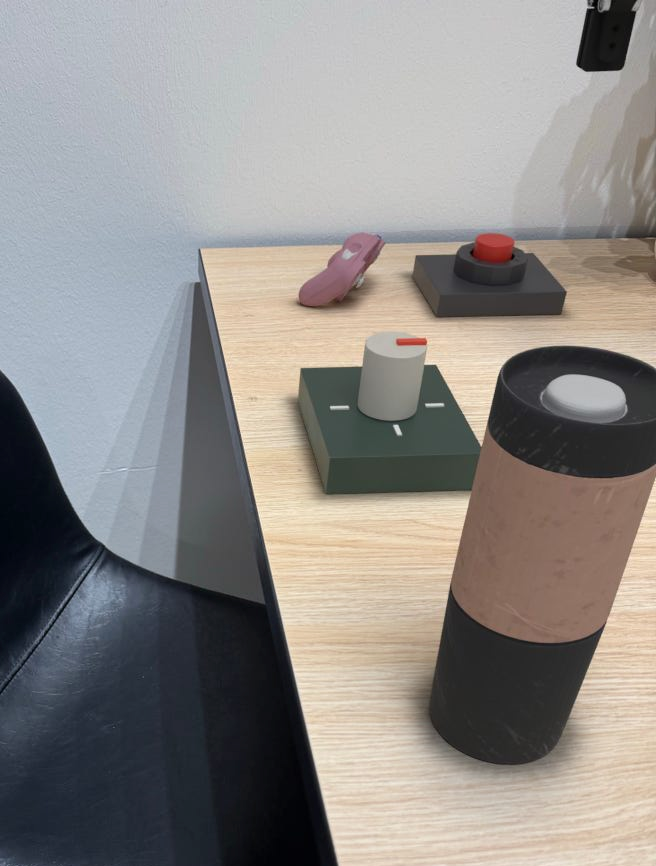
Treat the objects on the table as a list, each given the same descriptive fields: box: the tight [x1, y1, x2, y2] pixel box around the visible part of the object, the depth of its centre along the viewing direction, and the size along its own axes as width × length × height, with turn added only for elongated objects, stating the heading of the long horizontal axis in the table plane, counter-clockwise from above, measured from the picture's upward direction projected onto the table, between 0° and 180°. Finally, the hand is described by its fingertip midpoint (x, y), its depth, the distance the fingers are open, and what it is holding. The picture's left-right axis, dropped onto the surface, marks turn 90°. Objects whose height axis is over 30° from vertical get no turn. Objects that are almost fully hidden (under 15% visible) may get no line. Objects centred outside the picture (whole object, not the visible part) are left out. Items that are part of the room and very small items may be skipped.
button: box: [473, 232, 515, 262], centre depth 99 cm, size 4×4×2 cm
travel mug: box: [429, 345, 656, 765], centre depth 51 cm, size 8×8×20 cm
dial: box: [358, 331, 428, 421], centre depth 76 cm, size 4×4×5 cm
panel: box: [297, 364, 482, 495], centre depth 79 cm, size 14×11×3 cm
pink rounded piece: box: [298, 228, 386, 307], centre depth 100 cm, size 10×5×7 cm, turn 154°
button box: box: [412, 241, 568, 318], centre depth 100 cm, size 12×10×4 cm
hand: (599, 68), depth 80 cm, fingers closed
